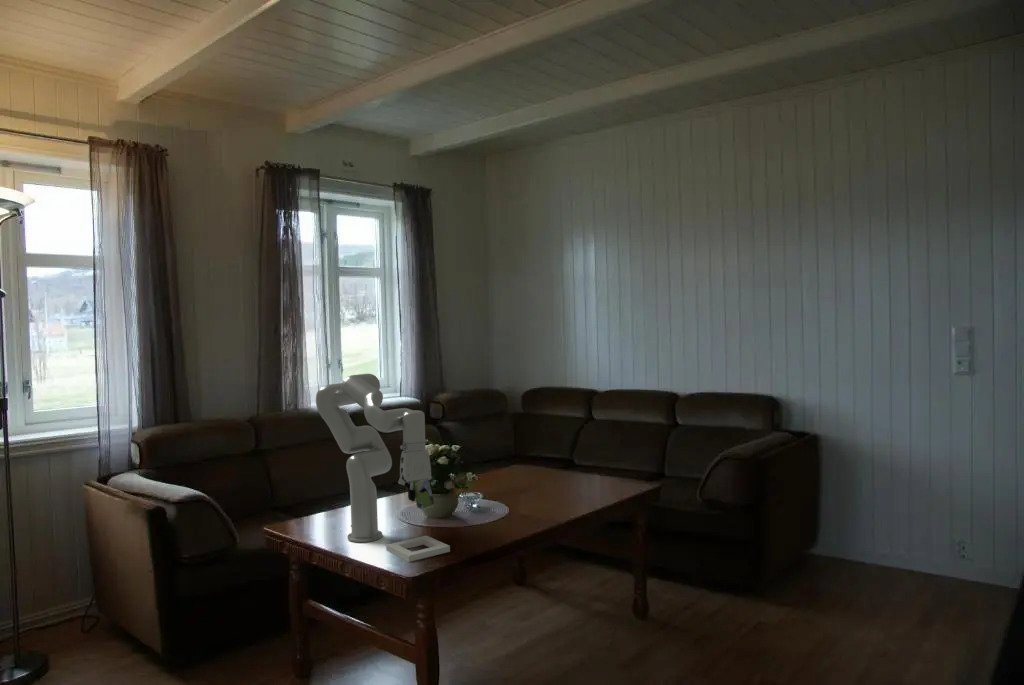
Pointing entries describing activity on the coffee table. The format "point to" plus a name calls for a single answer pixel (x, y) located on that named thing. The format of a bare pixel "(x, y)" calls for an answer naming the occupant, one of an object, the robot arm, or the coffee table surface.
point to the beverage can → (423, 493)
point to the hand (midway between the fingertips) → (415, 499)
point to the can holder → (402, 552)
